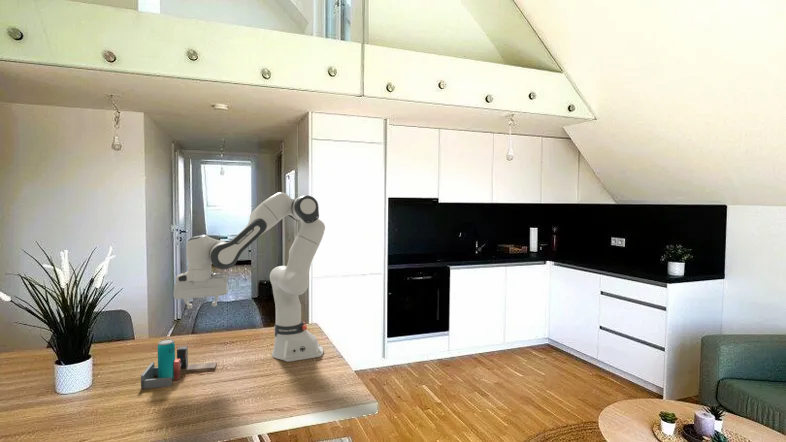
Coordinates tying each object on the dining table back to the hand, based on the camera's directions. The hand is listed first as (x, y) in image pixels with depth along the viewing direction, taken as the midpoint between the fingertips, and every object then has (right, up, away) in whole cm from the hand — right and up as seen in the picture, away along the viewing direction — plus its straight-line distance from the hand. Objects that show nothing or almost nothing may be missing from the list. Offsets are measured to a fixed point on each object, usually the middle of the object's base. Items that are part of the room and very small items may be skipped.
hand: (202, 307), depth 170 cm
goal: (-9, -25, -14) cm, 30 cm away
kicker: (-5, -24, -8) cm, 26 cm away
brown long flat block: (-2, -25, -3) cm, 25 cm away
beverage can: (-8, -25, -13) cm, 29 cm away
